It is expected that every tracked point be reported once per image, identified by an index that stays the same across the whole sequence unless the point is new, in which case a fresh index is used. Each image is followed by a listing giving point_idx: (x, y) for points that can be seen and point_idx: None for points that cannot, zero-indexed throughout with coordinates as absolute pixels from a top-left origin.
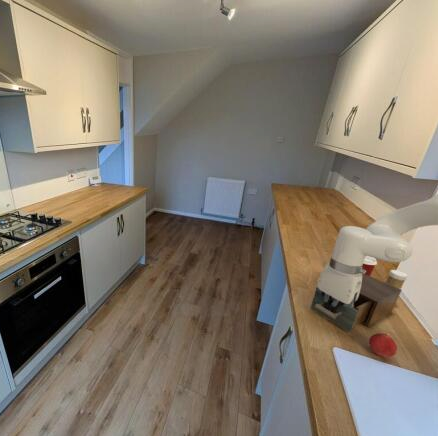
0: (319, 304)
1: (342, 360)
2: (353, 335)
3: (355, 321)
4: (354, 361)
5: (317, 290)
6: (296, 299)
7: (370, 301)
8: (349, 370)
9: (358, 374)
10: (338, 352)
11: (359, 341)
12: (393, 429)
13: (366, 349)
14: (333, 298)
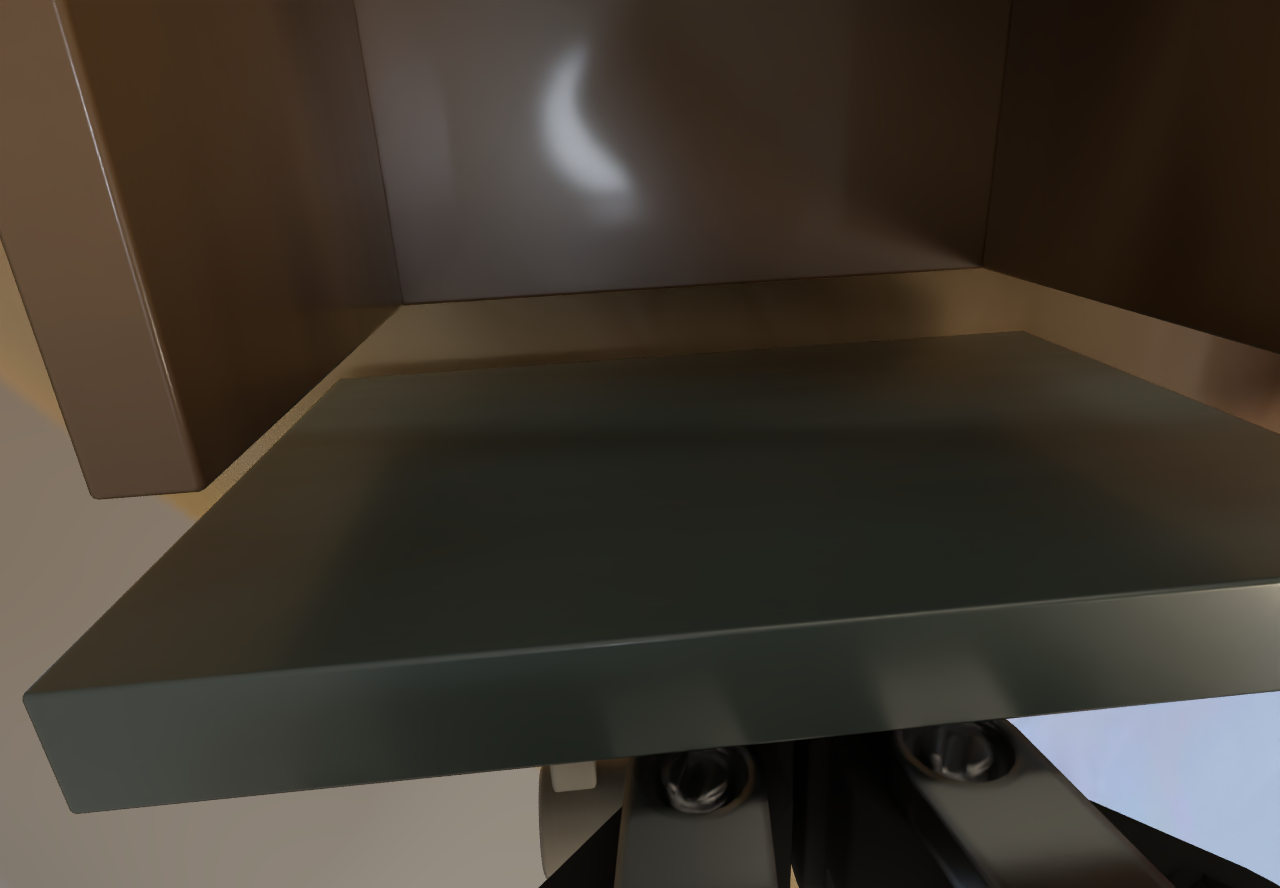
0: (563, 778)
1: (1098, 792)
2: (1030, 299)
3: (1203, 409)
4: (1178, 701)
5: (152, 797)
6: (19, 379)
7: None
8: (1177, 828)
9: (1243, 796)
10: (1034, 745)
11: (1123, 341)
12: None
13: (1223, 402)
14: (759, 734)
